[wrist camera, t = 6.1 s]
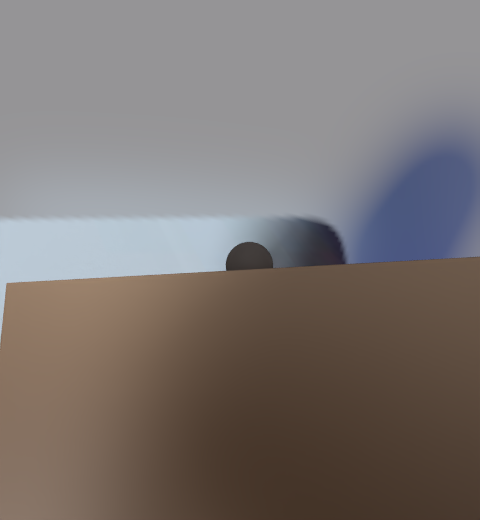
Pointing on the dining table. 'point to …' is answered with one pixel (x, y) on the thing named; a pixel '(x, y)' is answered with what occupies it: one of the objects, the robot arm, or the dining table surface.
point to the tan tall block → (244, 393)
